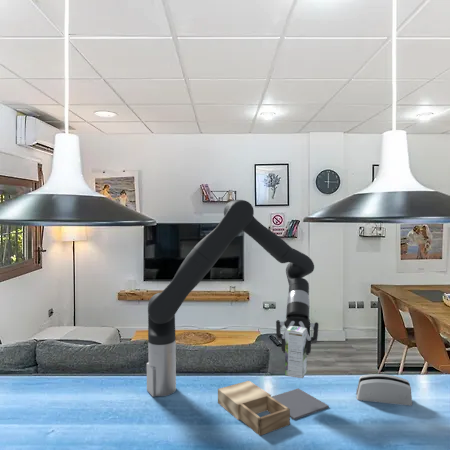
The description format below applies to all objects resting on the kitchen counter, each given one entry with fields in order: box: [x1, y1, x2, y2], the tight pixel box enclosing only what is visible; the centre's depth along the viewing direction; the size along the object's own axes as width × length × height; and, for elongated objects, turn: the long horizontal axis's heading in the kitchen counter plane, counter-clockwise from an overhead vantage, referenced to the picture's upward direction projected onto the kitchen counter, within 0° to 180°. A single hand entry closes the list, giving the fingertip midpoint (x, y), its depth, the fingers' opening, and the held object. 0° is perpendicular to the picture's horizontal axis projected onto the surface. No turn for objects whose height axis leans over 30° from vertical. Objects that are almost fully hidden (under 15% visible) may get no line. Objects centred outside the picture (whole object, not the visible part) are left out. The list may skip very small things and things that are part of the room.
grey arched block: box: [355, 373, 413, 407], centre depth 122 cm, size 17×5×10 cm, turn 76°
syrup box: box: [284, 326, 308, 379], centre depth 120 cm, size 6×6×14 cm
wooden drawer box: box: [217, 380, 291, 436], centre depth 115 cm, size 22×12×4 cm, turn 31°
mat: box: [271, 388, 330, 421], centre depth 120 cm, size 14×14×1 cm
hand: (295, 352), depth 119 cm, fingers closed on syrup box, 6 cm apart
